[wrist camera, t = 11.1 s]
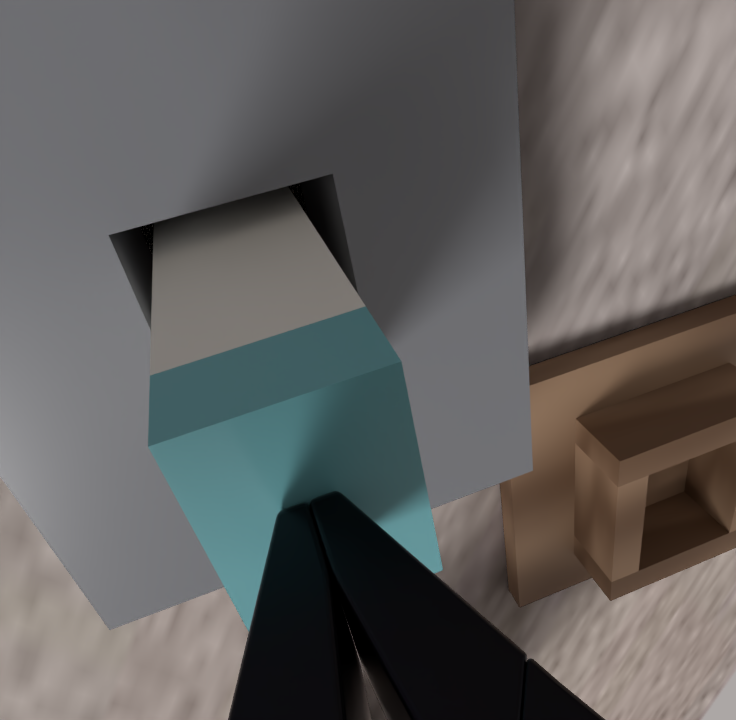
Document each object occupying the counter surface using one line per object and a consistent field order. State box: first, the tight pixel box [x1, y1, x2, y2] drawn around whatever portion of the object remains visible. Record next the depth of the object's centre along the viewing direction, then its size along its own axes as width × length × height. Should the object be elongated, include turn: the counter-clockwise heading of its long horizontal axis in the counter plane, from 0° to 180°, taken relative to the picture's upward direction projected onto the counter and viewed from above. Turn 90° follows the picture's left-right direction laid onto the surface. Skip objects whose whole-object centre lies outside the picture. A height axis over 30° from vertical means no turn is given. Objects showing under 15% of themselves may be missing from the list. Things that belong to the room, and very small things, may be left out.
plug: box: [148, 186, 443, 631], centre depth 12 cm, size 4×3×10 cm
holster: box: [500, 295, 736, 607], centre depth 24 cm, size 12×12×4 cm
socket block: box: [0, 0, 533, 630], centre depth 14 cm, size 14×12×4 cm
